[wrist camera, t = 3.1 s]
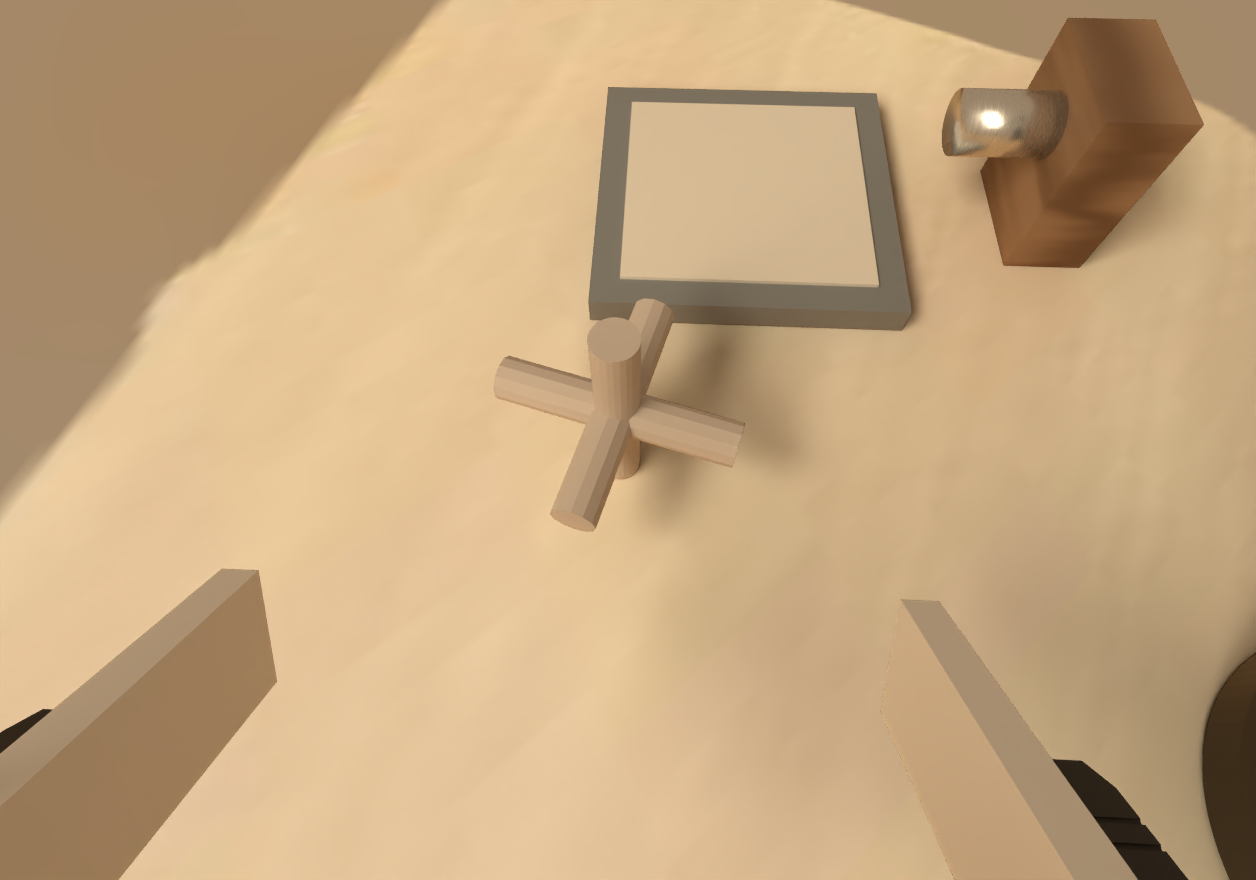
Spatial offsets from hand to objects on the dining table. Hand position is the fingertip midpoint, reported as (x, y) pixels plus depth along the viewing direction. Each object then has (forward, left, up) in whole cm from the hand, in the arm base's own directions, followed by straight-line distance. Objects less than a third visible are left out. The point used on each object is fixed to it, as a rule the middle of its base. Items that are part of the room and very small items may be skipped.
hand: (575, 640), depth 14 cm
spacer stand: (-11, -27, -15) cm, 32 cm away
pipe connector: (0, -11, -15) cm, 18 cm away
